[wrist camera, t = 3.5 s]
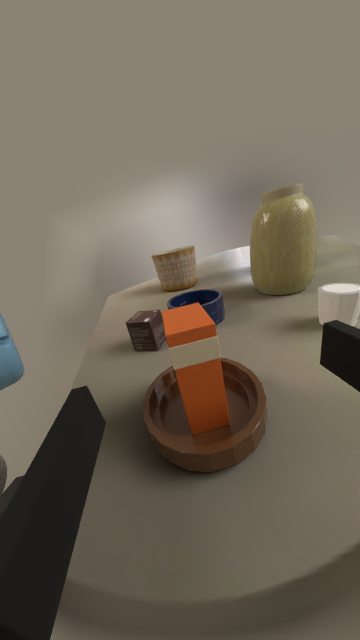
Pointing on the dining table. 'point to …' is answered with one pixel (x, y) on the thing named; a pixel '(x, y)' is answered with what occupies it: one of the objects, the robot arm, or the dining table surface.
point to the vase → (283, 242)
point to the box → (146, 330)
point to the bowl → (214, 445)
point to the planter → (176, 268)
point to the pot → (202, 302)
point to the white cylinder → (339, 302)
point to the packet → (197, 366)
